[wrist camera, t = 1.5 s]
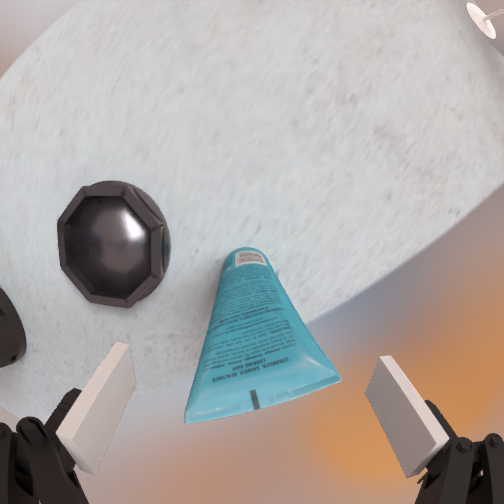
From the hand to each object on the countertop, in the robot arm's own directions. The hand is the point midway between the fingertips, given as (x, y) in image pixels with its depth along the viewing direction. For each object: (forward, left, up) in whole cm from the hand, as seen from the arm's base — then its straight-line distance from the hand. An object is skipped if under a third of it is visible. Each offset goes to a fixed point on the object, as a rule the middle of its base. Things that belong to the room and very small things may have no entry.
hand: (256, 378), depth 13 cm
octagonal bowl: (-15, +2, -17) cm, 23 cm away
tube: (0, 0, -17) cm, 17 cm away
